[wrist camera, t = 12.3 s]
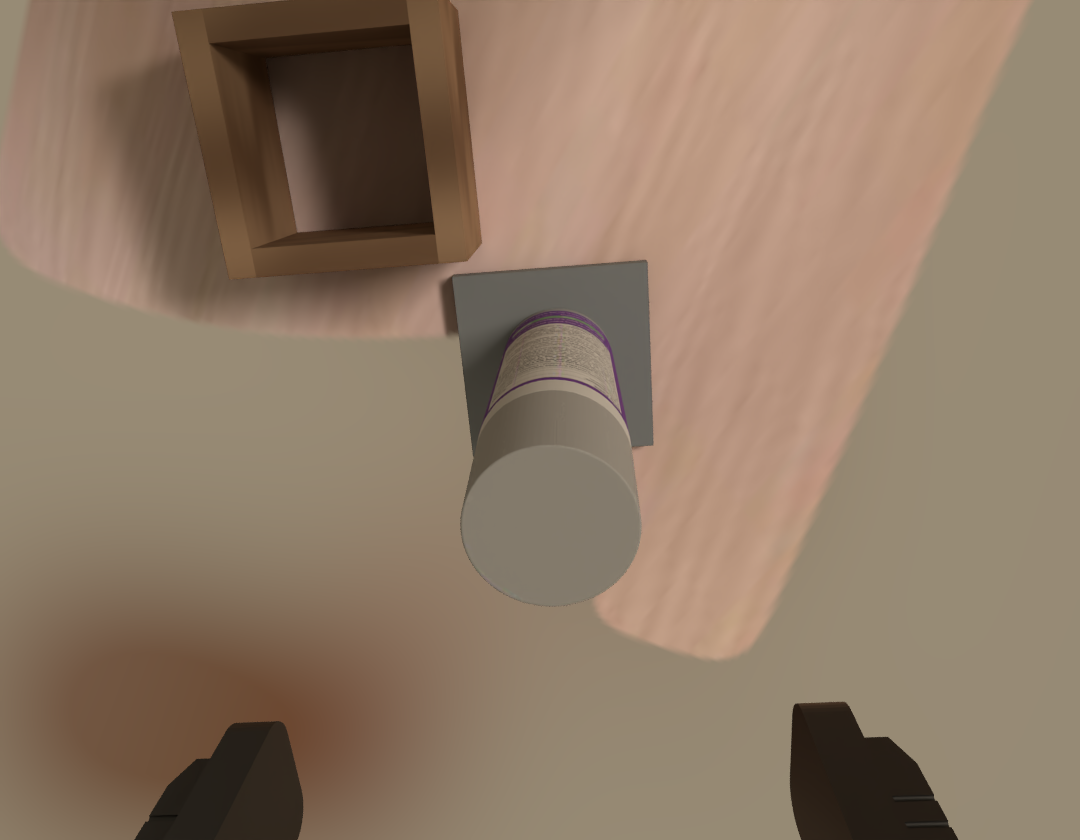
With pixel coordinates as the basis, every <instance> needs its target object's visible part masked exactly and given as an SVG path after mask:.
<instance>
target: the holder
mask: <svg viewBox="0 0 1080 840" xmlns="http://www.w3.org/2000/svg"><path fill="white" fill-rule="evenodd" d="M172 16H173V21H174V26H175V30H176V35H177V39H178V44H179V49H180V53H181V58H182V63H183V67H184V72H185V77H186V81H187V86H188V91H189V95H190V100H191V104H192V109H193V114H194V118H195V123H196V128H197V132H198V137H199V142H200V146H201V151H202V155H203V160H204V165H205V169H206V174H207V179H208V183H209V188H210V193H211V197H212V202H213V206H214V211H215V216H216V220H217V225H218V230H219V234H220V239H221V244H222V248H223V253H224V258H225V262H226V267H227V271H228V276H229V279H242V278H255V277H268V276H282V275H295V274H308V273H321V272H334V271H347V270H360V269H373V268H386V267H399V266H412V265H425V264H438V263H451V262H464V261H468V259H469V258H470V257H471V256H472V255H473V253H474V252H475V251H476V250H477V248H478V247H479V246H480V245H481V244H482V240H481V230H480V221H479V211H478V201H477V192H476V182H475V173H474V163H473V153H472V144H471V134H470V124H469V115H468V105H467V96H466V86H465V76H464V67H463V57H462V47H461V38H460V28H459V19H458V10H457V9H456V8H455V7H454V6H453V4H452V3H451V2H450V1H449V0H287V1H277V2H266V3H256V4H246V5H236V6H226V7H215V8H205V9H195V10H185V11H175V12H172ZM410 44H412V49H413V57H414V66H415V74H416V82H417V90H418V98H419V106H420V114H421V122H422V130H423V138H424V147H425V155H426V163H427V171H428V179H429V187H430V195H431V203H432V211H433V220H434V222H426V223H414V224H401V225H389V226H376V227H364V228H351V229H338V230H326V231H313V232H301V233H297V230H296V224H295V219H294V213H293V208H292V202H291V197H290V191H289V186H288V180H287V175H286V169H285V164H284V158H283V153H282V147H281V142H280V136H279V131H278V126H277V120H276V115H275V109H274V104H273V98H272V93H271V87H270V82H269V76H268V71H267V65H266V60H265V58H271V57H282V56H292V55H303V54H314V53H325V52H335V51H346V50H357V49H367V48H378V47H389V46H399V45H410Z"/></svg>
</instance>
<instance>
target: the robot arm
mask: <svg viewBox="0 0 1080 840" xmlns="http://www.w3.org/2000/svg"><path fill="white" fill-rule="evenodd" d="M791 740H792V741H791V764H790V765H791V766H790V792H791V800H792V806H793V812H794V817H795V821H796V825H797V828H798V831H799V834H800V837H801V840H958V838H957V836H956V835H955V833H954V831H953V829H952V828H951V827H949V825H948V820H947V818H946V816H945V814H944V813H943V811H942V809H941V807H940V805H939V803H938V801H935V799H934V794H933V792H932V790H931V788H930V787H929V785H928V783H927V781H926V780H925V777H924V776H923V774H922V772H921V770H920V768H919V766H918V764H917V763H916V762H915V761H914V760H913V759H911V757H909V756H908V755H907V754H906V753H905V752H904V751H903V750H902V749H901V748H900V747H898V746H897V745H896V744H895V743H894V742H893V741H892V740H891V739H890V738H888V737H871V738H864V736H863V734H862V732H861V730H860V728H859V726H858V724H857V722H856V719H855V717H854V715H853V713H852V711H851V709H850V707H849V706H848V705H847V704H846V703H845V702H825V703H800V704H795V705H794V708H793V714H792V739H791ZM149 816H150V818H149V821H148V822H145V824H144V825H143V827H142V828H141V830H140V832H139V833H138V835H137V836H136V839H135V840H297V839H298V837H299V833H300V829H301V824H302V818H303V796H302V790H301V786H300V782H299V778H298V774H297V770H296V765H295V761H294V758H293V753H292V749H291V745H290V741H289V737H288V733H287V730H286V727H285V725H284V724H283V723H282V722H279V721H276V722H250V723H234V724H232V725H231V726H230V727H229V728H228V729H227V731H226V732H225V734H224V736H223V737H222V739H221V741H220V743H219V744H218V746H217V748H216V750H215V751H214V753H213V755H212V757H211V758H210V759H196V760H195V761H194V762H193V763H192V764H191V765H190V766H189V767H187V769H186V770H184V771H183V772H182V773H181V774H180V775H179V776H178V777H177V778H176V779H175V780H173V781H172V782H171V783H170V784H169V785H168V786H167V788H166V789H165V791H164V793H163V795H162V796H161V798H160V799H159V801H158V802H157V804H156V806H155V807H154V809H153V811H152V812H151V814H150V815H149Z"/></svg>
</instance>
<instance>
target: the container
mask: <svg viewBox="0 0 1080 840" xmlns="http://www.w3.org/2000/svg"><path fill="white" fill-rule="evenodd" d="M460 524H461V536H462V541H463V545H464V548H465V551H466V553H467V555H468V558H469V560H470V561H471V563H472V565H473V566H474V568H475V569H476V571H477V572H478V573H479V574H480V575H481V576H482V577H483V578H484V580H486V581H487V582H488V583H489V584H490V585H491V586H493V587H494V588H495V589H497V590H498V591H500V592H502V593H503V594H505V595H507V596H509V597H511V598H513V599H516V600H518V601H522V602H525V603H528V604H533V605H538V606H565V605H571V604H576V603H579V602H582V601H586V600H589V599H591V598H593V597H595V596H597V595H599V594H601V593H603V592H604V591H606V590H607V589H609V588H610V587H611V586H612V585H614V584H615V583H616V582H617V581H618V580H619V579H620V578H621V577H622V576H623V575H624V573H625V572H626V571H627V569H628V568H629V567H630V565H631V563H632V561H633V559H634V557H635V555H636V553H637V550H638V547H639V543H640V538H641V514H640V507H639V500H638V492H637V485H636V477H635V470H634V462H633V455H632V447H631V440H630V434H629V429H628V425H627V420H626V415H625V410H624V406H623V401H622V396H621V391H620V386H619V382H618V377H617V372H616V367H615V363H614V358H613V353H612V349H611V346H610V343H609V341H608V339H607V337H606V335H605V333H604V332H603V330H602V329H601V328H600V327H599V326H598V325H597V324H596V323H595V322H594V321H593V320H592V319H590V318H589V317H587V316H585V315H584V314H581V313H579V312H576V311H573V310H569V309H558V308H556V309H548V310H543V311H540V312H537V313H535V314H533V315H531V316H529V317H528V318H526V319H525V320H524V321H522V322H521V323H520V324H519V325H518V326H517V327H516V328H515V330H514V331H513V332H512V334H511V335H510V337H509V339H508V342H507V344H506V346H505V350H504V353H503V356H502V359H501V363H500V366H499V369H498V372H497V376H496V379H495V382H494V386H493V389H492V392H491V395H490V399H489V402H488V405H487V409H486V412H485V415H484V418H483V422H482V425H481V428H480V432H479V436H478V441H477V446H476V450H475V454H474V459H473V463H472V468H471V472H470V477H469V481H468V485H467V490H466V494H465V499H464V503H463V508H462V513H461V523H460Z"/></svg>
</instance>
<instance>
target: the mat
mask: <svg viewBox="0 0 1080 840" xmlns="http://www.w3.org/2000/svg"><path fill="white" fill-rule="evenodd" d="M452 281H453V289H454V298H455V306H456V315H457V323H458V332H459V340H460V348H461V356H462V366H463V374H464V382H465V391H466V399H467V408H468V416H469V424H470V433H471V441H472V450H473V456H474V454H475V450H476V446H477V441H478V436H479V432H480V428H481V425H482V422H483V418H484V415H485V412H486V409H487V405H488V402H489V399H490V395H491V392H492V389H493V386H494V382H495V379H496V376H497V372H498V369H499V366H500V363H501V359H502V356H503V353H504V350H505V346H506V344H507V342H508V339H509V337H510V335H511V334H512V332H513V331H514V330H515V328H516V327H517V326H518V325H519V324H520V323H521V322H522V321H524V320H525V319H526V318H528V317H529V316H531V315H533V314H535V313H537V312H540V311H543V310H548V309H556V308H558V309H569V310H573V311H576V312H579V313H581V314H584V315H585V316H587V317H589V318H590V319H592V320H593V321H594V322H595V323H596V324H597V325H598V326H599V327H600V328H601V329H602V330H603V332H604V333H605V335H606V337H607V339H608V341H609V343H610V346H611V349H612V353H613V358H614V363H615V367H616V372H617V377H618V382H619V386H620V391H621V396H622V401H623V406H624V410H625V415H626V420H627V425H628V429H629V434H630V440H631V447H634V446H651V445H653V415H652V385H651V355H650V324H649V294H648V264H647V261H646V260H641V261H628V262H615V263H601V264H588V265H575V266H562V267H549V268H535V269H522V270H509V271H496V272H482V273H469V274H456V275H453V276H452Z"/></svg>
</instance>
